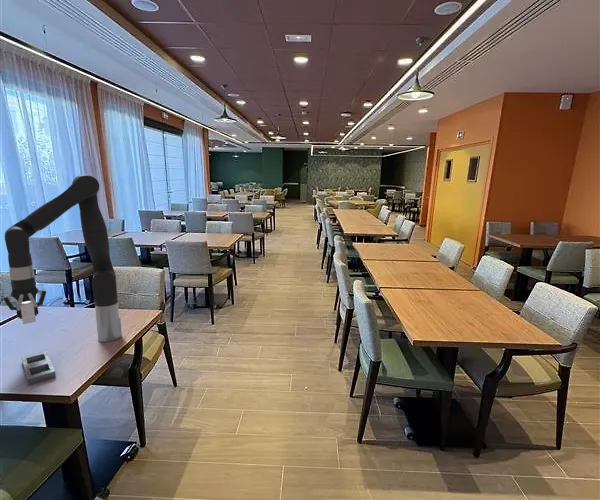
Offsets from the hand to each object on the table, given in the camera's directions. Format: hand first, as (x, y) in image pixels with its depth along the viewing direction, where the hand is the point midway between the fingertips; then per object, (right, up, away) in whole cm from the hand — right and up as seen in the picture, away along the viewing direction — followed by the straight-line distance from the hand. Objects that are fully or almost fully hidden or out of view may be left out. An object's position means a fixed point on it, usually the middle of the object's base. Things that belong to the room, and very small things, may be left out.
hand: (28, 316), depth 135 cm
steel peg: (0, -2, 0) cm, 2 cm away
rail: (+10, -19, -7) cm, 23 cm away
